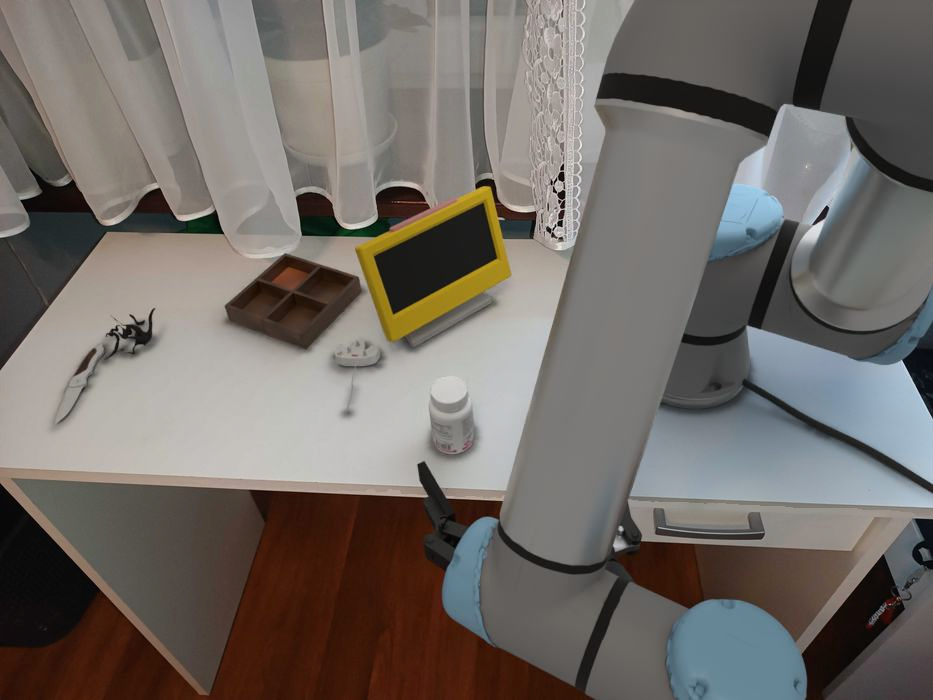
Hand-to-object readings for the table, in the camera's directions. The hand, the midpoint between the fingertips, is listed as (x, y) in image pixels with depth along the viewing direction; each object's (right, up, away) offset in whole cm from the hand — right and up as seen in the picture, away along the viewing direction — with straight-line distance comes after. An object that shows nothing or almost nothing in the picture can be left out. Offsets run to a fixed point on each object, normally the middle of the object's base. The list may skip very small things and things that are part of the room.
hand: (484, 443), depth 70 cm
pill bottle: (-3, -1, +11) cm, 12 cm away
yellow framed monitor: (-6, +14, +27) cm, 31 cm away
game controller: (-16, +6, +19) cm, 25 cm away
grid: (-25, +15, +29) cm, 41 cm away
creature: (-46, +10, +25) cm, 54 cm away
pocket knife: (-49, +5, +19) cm, 53 cm away
